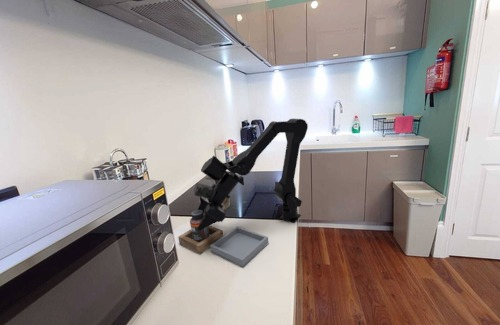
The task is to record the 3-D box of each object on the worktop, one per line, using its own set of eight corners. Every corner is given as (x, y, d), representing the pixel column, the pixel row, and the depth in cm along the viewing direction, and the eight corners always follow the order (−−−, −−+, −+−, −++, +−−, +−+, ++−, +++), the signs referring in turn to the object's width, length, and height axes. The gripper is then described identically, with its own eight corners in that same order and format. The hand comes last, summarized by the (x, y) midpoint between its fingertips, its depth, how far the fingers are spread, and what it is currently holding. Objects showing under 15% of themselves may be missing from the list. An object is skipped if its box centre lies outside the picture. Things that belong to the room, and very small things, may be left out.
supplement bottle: (211, 235, 84) (207, 207, 81) (209, 245, 78) (204, 215, 75) (195, 237, 84) (190, 209, 81) (191, 246, 78) (186, 217, 75)
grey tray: (237, 232, 84) (237, 226, 84) (268, 243, 76) (268, 236, 76) (210, 252, 74) (210, 245, 74) (243, 267, 66) (242, 260, 65)
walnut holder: (203, 229, 88) (202, 222, 88) (223, 237, 82) (222, 230, 81) (179, 244, 80) (178, 236, 79) (200, 254, 73) (198, 246, 73)
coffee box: (221, 214, 100) (217, 179, 96) (209, 212, 102) (204, 178, 98) (230, 205, 108) (227, 173, 104) (218, 204, 110) (215, 172, 106)
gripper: (202, 168, 85) (175, 201, 84) (210, 182, 68) (178, 224, 67) (224, 184, 89) (200, 216, 89) (238, 201, 72) (207, 241, 72)
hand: (196, 223), depth 79 cm, fingers open, 9 cm apart
